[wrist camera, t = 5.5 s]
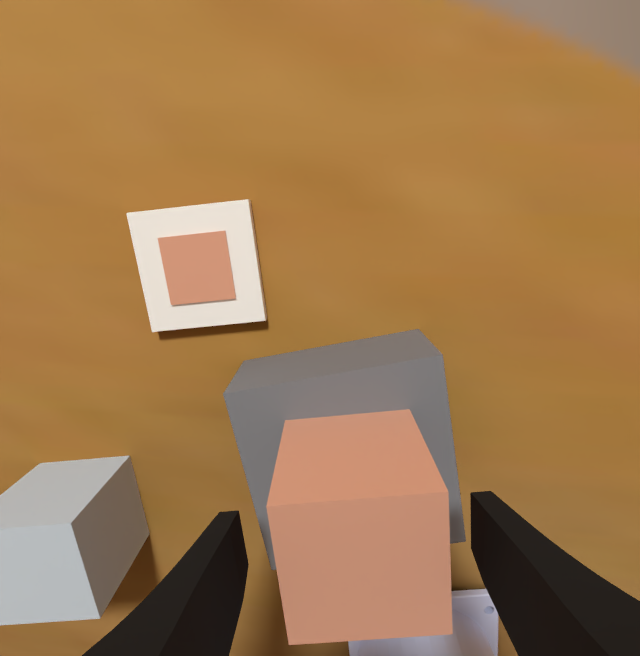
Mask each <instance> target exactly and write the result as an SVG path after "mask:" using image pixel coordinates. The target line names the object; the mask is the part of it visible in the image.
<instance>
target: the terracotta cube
mask: <svg viewBox="0 0 640 656" xmlns="http://www.w3.org/2000/svg"><path fill="white" fill-rule="evenodd" d="M266 508H267V514H268V520H269V526H270V532H271V538H272V545H273V551H274V557H275V563H276V569H277V575H278V581H279V587H280V594H281V600H282V606H283V612H284V618H285V624H286V630H287V636H288V643H289V645H298V644H313V643H328V642H343V641H358V640H374V639H389V638H404V637H419V636H434V635H450V634H453V628H452V594H451V560H450V527H449V493H448V490H447V488H446V485H445V483H444V481H443V479H442V477H441V475H440V473H439V471H438V468H437V466H436V464H435V462H434V460H433V458H432V456H431V454H430V451H429V449H428V447H427V445H426V443H425V441H424V439H423V436H422V434H421V432H420V430H419V428H418V426H417V424H416V422H415V419H414V417H413V415H412V413H411V411H410V409H406V410H395V411H384V412H373V413H361V414H350V415H339V416H328V417H317V418H306V419H295V420H285V423H284V427H283V432H282V437H281V441H280V446H279V450H278V455H277V460H276V464H275V469H274V473H273V478H272V482H271V487H270V492H269V496H268V501H267V505H266Z"/></svg>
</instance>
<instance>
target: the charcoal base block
mask: <svg viewBox="0 0 640 656" xmlns="http://www.w3.org/2000/svg"><path fill="white" fill-rule="evenodd" d="M223 395H224V399H225V402H226V406H227V410H228V413H229V417H230V420H231V424H232V428H233V431H234V435H235V439H236V442H237V446H238V449H239V453H240V457H241V460H242V464H243V468H244V471H245V475H246V478H247V482H248V486H249V489H250V493H251V497H252V500H253V504H254V507H255V511H256V515H257V518H258V522H259V526H260V529H261V533H262V536H263V540H264V544H265V547H266V551H267V554H268V558H269V562H270V565H271V569H272V570H276V563H275V557H274V551H273V545H272V538H271V532H270V526H269V520H268V514H267V508H266V505H267V501H268V496H269V492H270V487H271V482H272V478H273V473H274V469H275V464H276V460H277V455H278V450H279V446H280V441H281V437H282V432H283V427H284V423H285V420H295V419H306V418H317V417H328V416H339V415H350V414H361V413H373V412H384V411H395V410H406V409H410V411H411V413H412V415H413V417H414V419H415V422H416V424H417V426H418V428H419V430H420V432H421V434H422V436H423V439H424V441H425V443H426V445H427V447H428V449H429V451H430V454H431V456H432V458H433V460H434V462H435V464H436V466H437V468H438V471H439V473H440V475H441V477H442V479H443V481H444V483H445V485H446V488H447V490H448V493H449V527H450V544H451V543H458V542H465V541H466V538H465V530H464V522H463V514H462V506H461V498H460V490H459V482H458V474H457V466H456V458H455V450H454V442H453V434H452V426H451V418H450V410H449V402H448V394H447V386H446V378H445V370H444V362H443V355H442V354H441V352H440V351H439V350H438V349H437V348H436V347H435V346H434V345H433V344H432V343H431V342H430V341H429V340H428V339H427V338H426V337H425V336H424V334H423V333H422V332H421V331H420V330H419V329H416V330H410V331H405V332H399V333H394V334H388V335H383V336H377V337H372V338H366V339H361V340H355V341H350V342H344V343H339V344H333V345H328V346H323V347H317V348H312V349H306V350H301V351H295V352H290V353H284V354H279V355H273V356H268V357H262V358H257V359H251V360H246V361H244V362H243V363H242V365H241V366H240V368H239V370H238V371H237V373H236V374H235V376H234V378H233V379H232V381H231V382H230V384H229V385H228V387H227V389H226V390H225V392H224V393H223Z"/></svg>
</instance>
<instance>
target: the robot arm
mask: <svg viewBox="0 0 640 656" xmlns="http://www.w3.org/2000/svg"><path fill="white" fill-rule="evenodd" d="M471 549H472V552H473V555H474V558H475V561H476V563H477V566H478V569H479V572H480V575H481V577H482V580H483V583H484V585H485V587H486V589H474V590H459V591H451V594H452V628H453V634H450V635H434V636H419V637H404V638H389V639H374V640H358V641H348V645H349V654H350V656H498V614H499V616H500V619H501V621H502V623H503V625H504V627H505V629H506V631H507V633H508V635H509V637H510V639H511V641H512V643H513V645H514V647H515V649H516V651H517V653H518V656H640V601H638V600H637V599H635V598H633V597H632V596H630V595H628V594H627V593H625V592H624V591H622V590H621V589H619V588H618V587H616V586H614V585H613V584H611V583H610V582H608V581H607V580H605V579H603V578H602V577H600V576H599V575H597V574H596V573H594V572H593V571H591V570H590V569H589V568H587V567H586V566H584V565H583V564H582V563H580V562H579V561H577V560H576V559H575V558H573V557H572V556H571V555H569V554H568V553H566V552H565V551H564V550H562V549H561V548H560V547H558V546H557V545H556V544H554V543H553V542H552V541H551V540H549V539H548V538H547V537H545V536H544V535H543V534H542V533H540V532H539V531H538V530H537V529H535V528H534V527H533V526H532V525H531V524H529V523H528V522H527V521H526V520H525V519H523V518H522V517H521V516H520V515H519V514H517V513H516V512H515V511H514V510H513V509H511V508H510V507H509V506H508V505H507V504H506V503H504V502H503V501H502V500H501V499H500V498H499V497H497V496H496V495H495V494H494V493H493V492H491V491H485V492H472V493H471ZM247 571H248V559H247V554H246V548H245V543H244V537H243V532H242V526H241V521H240V515H239V511H228V512H219V513H218V515H217V516H216V517H215V518H214V519H213V521H212V522H211V523H210V524H209V526H208V527H207V528H206V529H205V530H204V532H203V533H202V534H201V535H200V537H199V538H198V539H197V540H196V542H195V543H194V544H193V545H192V547H191V548H190V549H189V550H188V551H187V552H186V554H185V555H184V556H183V557H182V558H181V560H180V561H179V562H178V563H177V564H176V565H175V567H174V568H173V569H172V570H171V571H170V572H169V573H168V575H167V576H166V577H165V578H164V579H163V580H162V581H161V582H160V583H159V584H158V585H157V586H156V588H155V589H154V590H153V591H152V592H151V593H150V594H149V595H148V596H147V597H146V598H145V599H144V600H143V601H142V602H141V603H140V604H139V605H138V606H137V607H136V608H135V609H134V610H133V611H132V612H131V613H130V614H129V615H128V616H127V617H126V618H125V619H124V620H122V621H121V622H120V623H119V624H118V625H117V626H116V627H115V628H114V629H113V630H112V631H110V632H109V633H108V634H107V635H106V636H104V637H103V638H102V639H101V640H100V641H99V642H97V643H96V644H95V645H94V646H93V647H91V648H90V649H89V650H88V651H87V652H86V653H84V654H83V655H82V656H229V653H230V649H231V645H232V641H233V638H234V634H235V630H236V626H237V622H238V618H239V614H240V611H241V607H242V603H243V598H244V591H245V585H246V578H247Z"/></svg>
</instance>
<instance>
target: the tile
mask: <svg viewBox="0 0 640 656" xmlns="http://www.w3.org/2000/svg"><path fill="white" fill-rule="evenodd" d="M126 214H127V218H128V223H129V228H130V232H131V237H132V241H133V246H134V251H135V255H136V260H137V264H138V269H139V274H140V278H141V283H142V287H143V292H144V296H145V301H146V306H147V310H148V315H149V319H150V324H151V329H152V332H156V331H166V330H176V329H187V328H197V327H207V326H217V325H227V324H237V323H247V322H258V321H266V319H267V313H266V306H265V299H264V292H263V285H262V277H261V270H260V263H259V256H258V249H257V242H256V235H255V228H254V221H253V214H252V207H251V200H249V199H247V200H238V201H229V202H220V203H211V204H202V205H193V206H184V207H175V208H167V209H158V210H149V211H140V212H131V213H126Z"/></svg>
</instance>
